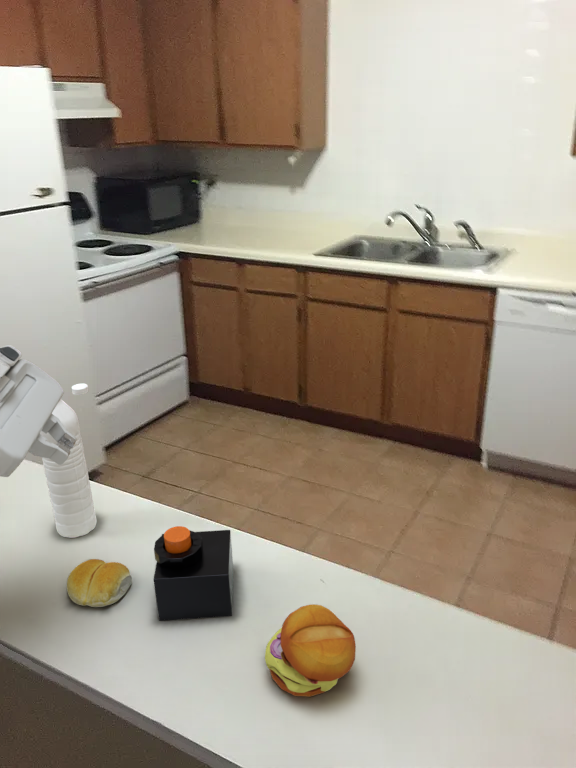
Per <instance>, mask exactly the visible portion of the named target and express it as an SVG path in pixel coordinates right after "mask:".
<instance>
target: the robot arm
mask: <svg viewBox="0 0 576 768" xmlns="http://www.w3.org/2000/svg"><path fill="white" fill-rule="evenodd" d="M22 356H23V353H22V351H20V350H19V349H18V348H17V347H15V346H14V345H12V344H7V345H2V346H0V477H1V478H2V477H3V478H9V477H10V476H11V475H12V474H13V473H14V472H15V471H16V470H17V469H18V467H20V465H21V464H22V463H23V461H24V460H25V458H26V456H27V455H28V453H30V454H31V455H33V456H36V457H39V458H42V457H44V458H50V459H51V460H53V461H54V462H56V463H57V464H59V465H62V464H63V463H64V462H65V461H66V460H67V459H68V457H69V454H70V449H71V448H72V447H73V446H74V444H75V442H76V437H75V436H73V435H72V434H70V433H69V432H68V431H67V430H66V428H65V427H64V426H63V424H62V423H61V421H60V420H59V419H58V418H57V417H56V416H54V415H53V414H52V412H53V410H54V409H55V407H56V405H57V404H58V402H59V400H60V399H62V398H63V395H64V394H65V391H64V388H63V387H62V386H61V384H60V383H59V381H57V379H55V378H54V377H52V376H51V375H50V374H49V373H47V372H46V371H45V370H44V369H42V368H41V367H40V366H38V365H37V364H35V363H34V362H32V361H31V360H29V359H25V358H22ZM41 431H43V432H44V433H46V434H47V432H48V433H49V434H50V435H51V436H52V437H53V438H54V439H55V440H56V441H57V444H56V445H55V444H52V443H49V442H47V441H46V438H45V437H44V436H42V435H41V434H40V432H41Z"/></svg>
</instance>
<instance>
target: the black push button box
mask: <svg viewBox="0 0 576 768" xmlns="http://www.w3.org/2000/svg"><path fill="white" fill-rule="evenodd" d="M189 531H190V536H191V547H190V549H189V550H187V551H185V552H182V553H170V552H167V551H166V549H165V542H164V533H161V535H160V536H159V538H157V539H156V540H155V542H154V546H153V553H154V559H155V561H156V564H155V569H154V574H153V578H152V579H153V586H154V594H155V599H156V600H155V601H156V607H157V615H158V621H159V622H165V621H181V620H194V619H196V620H197V619H209V618H210V619H211V618H212V619H213V618H227V617H232V616H233V603H234V601H233V599H234V597H233V596H234V557H233V547H232V534H231V533H232V532H231V529H219V530H204V531H194V530H190V529H189Z"/></svg>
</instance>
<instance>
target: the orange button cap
mask: <svg viewBox="0 0 576 768" xmlns="http://www.w3.org/2000/svg"><path fill="white" fill-rule="evenodd" d="M189 530H190V529H189V528H188V527H186V526H183V525H177V526H172V527H170V528H168V529H166V530H165V532H164V533H163V534H164V542H165V549H166V551H167V552H170V553H182V552H185V551H187V550H189V549H190V547H191V536H190V531H191V530H190V531H189Z"/></svg>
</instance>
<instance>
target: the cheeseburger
mask: <svg viewBox="0 0 576 768" xmlns="http://www.w3.org/2000/svg"><path fill="white" fill-rule="evenodd" d="M356 648H357V646H356V639H355V635H354V633H353V631H352V629H350V628H349V627H348V626H347V625H346V624H345V623H344V622H343V621H342V620H341V619H340V618H339V617H338V616H337V615H336V614H335V613H334V612H333V611H332V610H330V609H329V608H327V607H326V606H324V605H321V604H313V603H312V604H311V603H310V604H307V605H302V606H300V607H298V608H297V609H295V610H294V611H292V612H290V613H289V614H288V615H287V616H286V618H285V620H284V621H283V623H282V625H281V628H279V629H278V630H277V631H276V632H275V633H274V634H273V636H272V637H271V638H270V639H269V641H268V642H267V644H266V647H265V653H264V660H265V665H266V667H267V669H268V670H269V672H270V676H271V678H272V680H273V681H274V682H275V683H276V685H277V686H278V687H279V688H280V690H283V691H284V692H286V693H288V694H291V695H292V696H294V697H309V698H311V697H314V696H317V695H321V694H324V693H325V692H328V691H330V690H331V689H332V688H333V687H334V686H336V685H337V683H338V680H339V679H341V678H343V677H344V676H345V675H347V674H348V673H349V672H350V670H351V669H352V668H353V666H354V663H355V660H356V653H357V651H356V650H357V649H356Z"/></svg>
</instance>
